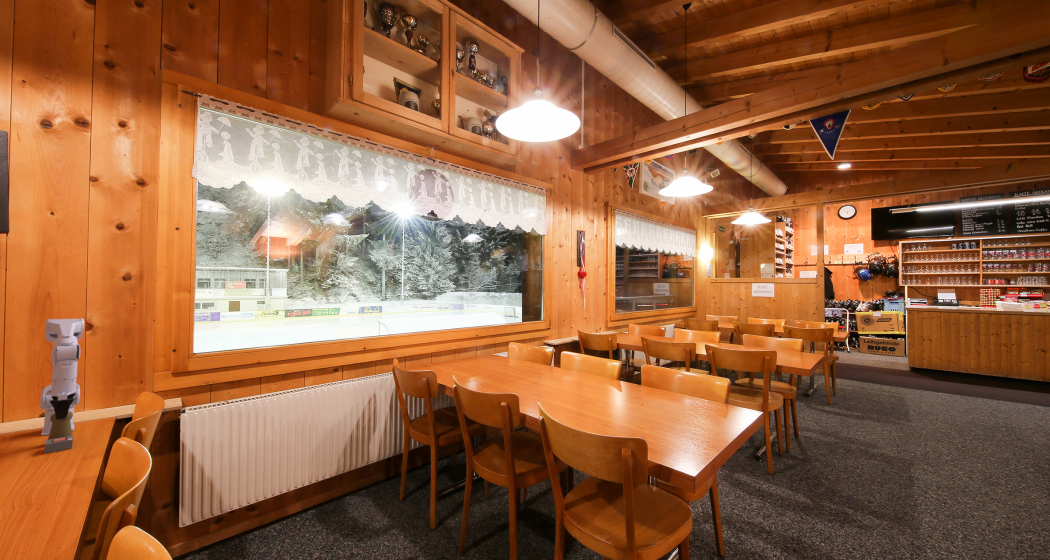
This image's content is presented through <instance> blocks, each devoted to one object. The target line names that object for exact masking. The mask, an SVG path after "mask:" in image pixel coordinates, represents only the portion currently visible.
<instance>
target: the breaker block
mask: <svg viewBox="0 0 1050 560" xmlns="http://www.w3.org/2000/svg"><path fill="white" fill-rule="evenodd" d="M62 438H65V440H63V441H57V442H53V441H54V439H50V440H48V439H46V440H45V443H44V451H43V454H45V453H46V454H50V453H49V452H51V453H55V452H54V451H56V452H60V450H62V451H66V450H65V449H67V450H71V448H72V449H73V442H74V436H73V435H72V436H67V437H62ZM56 439H60V438H56ZM46 454H45V455H46Z"/></svg>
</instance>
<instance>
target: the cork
mask: <svg viewBox="0 0 1050 560" xmlns="http://www.w3.org/2000/svg"><path fill="white" fill-rule="evenodd" d="M72 417H73V418H74V415H73V413H72V412H70V411H68V414H67V417H66V418H65V419H59V420H57V419H56V416H55V413H54V414H53V415H52V416H51V417H50V420H51V422H52V426H51V430H50V434H48V438H47V440H50V439H56V438H62V437H67V436H73V430H71V422H70V420H71V419H72Z"/></svg>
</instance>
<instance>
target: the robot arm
mask: <svg viewBox="0 0 1050 560" xmlns="http://www.w3.org/2000/svg"><path fill="white" fill-rule="evenodd" d="M84 329H85V319H84V318H83V317H82V318H81V317H80V318H57V319H56V318H55V319H51V318H48V319H47V320H46V321H45V332H44V333H45V337H44V338H45V339H46V342H49V343H52V344H53V348H52V351H51V361H52V363H51V364H52V365H51V366H52V374H51V384H49V385H47V386H45V387H43V389H42V390H41V394H40V401H39V402H40V403H39V409H41V410H44V419H43V422H44V423H43V428H42V431H41V434H40V435H41V436H47V435H49V434H50V430H51V426H52V422H51V420H50V417H51V416H52V415H53V414H54V413H55V416H56V419H57V420H59V419H65V418H66V417H67V414H68V411H70V412H72V413H73V417H72V419H71V420H70V422H71V430H72V431H74V430H75V423H74V412H75V406H76V405H78V404H79V403H80V400H81V388H80V387H81V386H80V384H78V383H77V378H78V362H79V360H80V359H81V345H80V344H79V342H78V341H79V340H81V339H82V337H83V333H84Z"/></svg>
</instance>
